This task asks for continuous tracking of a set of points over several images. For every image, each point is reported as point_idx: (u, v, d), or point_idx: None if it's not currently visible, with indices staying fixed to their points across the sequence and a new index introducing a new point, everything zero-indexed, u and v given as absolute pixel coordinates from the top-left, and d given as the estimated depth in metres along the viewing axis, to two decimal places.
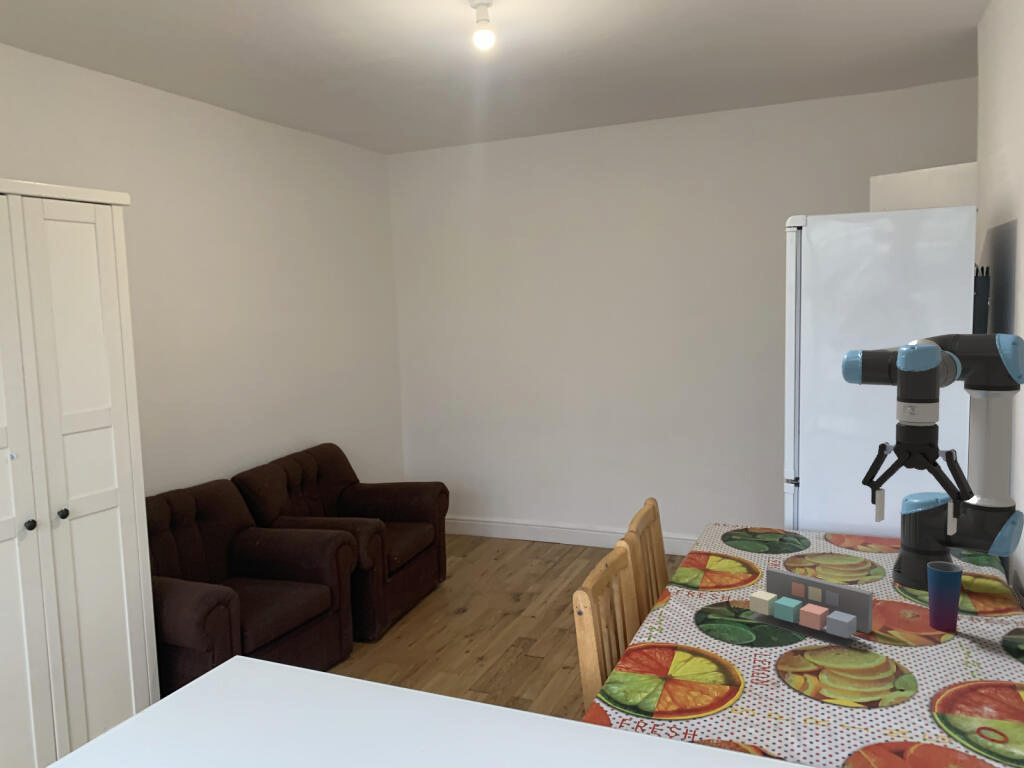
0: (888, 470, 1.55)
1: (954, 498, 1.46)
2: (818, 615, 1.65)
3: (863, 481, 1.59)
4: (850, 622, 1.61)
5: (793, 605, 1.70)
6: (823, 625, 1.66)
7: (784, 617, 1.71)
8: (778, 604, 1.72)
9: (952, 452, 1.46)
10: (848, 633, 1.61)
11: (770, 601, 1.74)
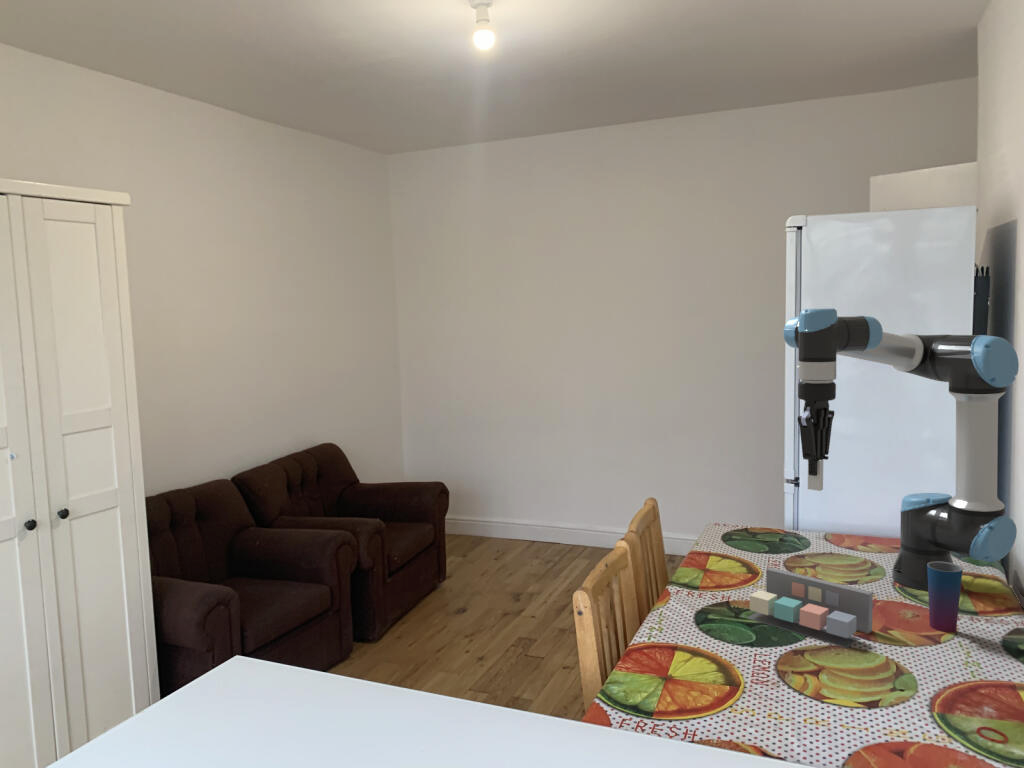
0: None
1: None
2: (818, 615, 1.65)
3: None
4: (850, 622, 1.61)
5: (793, 605, 1.70)
6: (823, 625, 1.66)
7: (784, 617, 1.71)
8: (778, 604, 1.72)
9: (800, 419, 1.60)
10: (848, 633, 1.61)
11: (770, 601, 1.74)
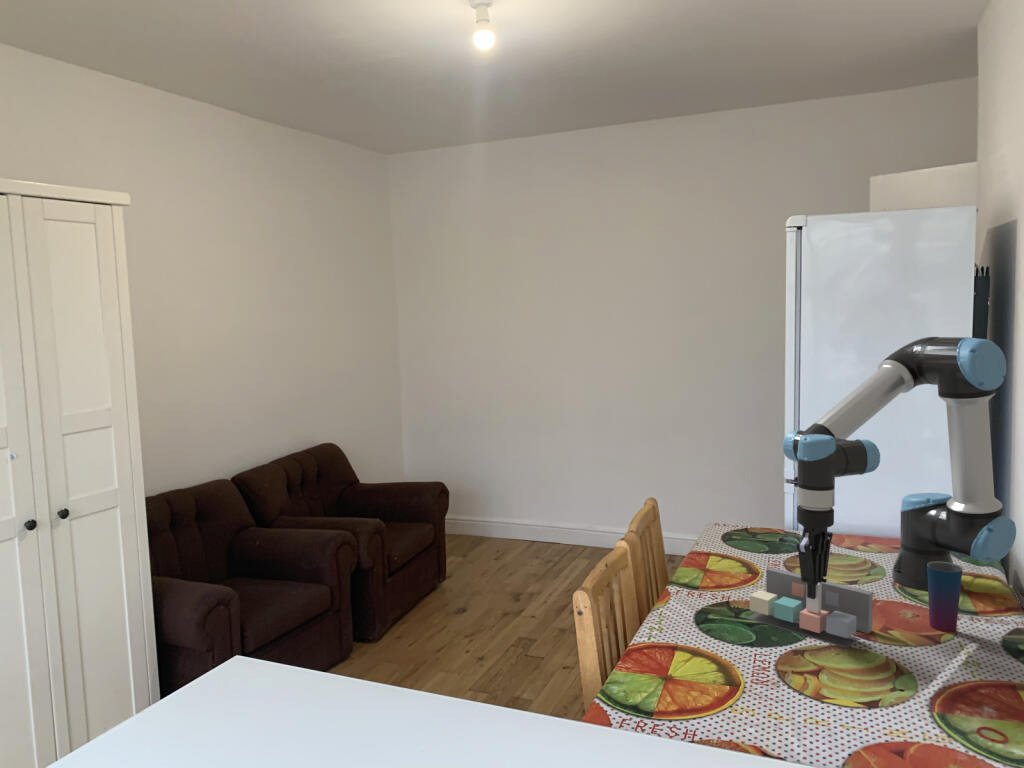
0: None
1: None
2: (818, 618, 1.65)
3: None
4: (850, 622, 1.61)
5: (793, 605, 1.70)
6: (823, 628, 1.66)
7: (784, 617, 1.71)
8: (778, 604, 1.72)
9: (798, 546, 1.62)
10: (848, 633, 1.61)
11: (770, 601, 1.74)
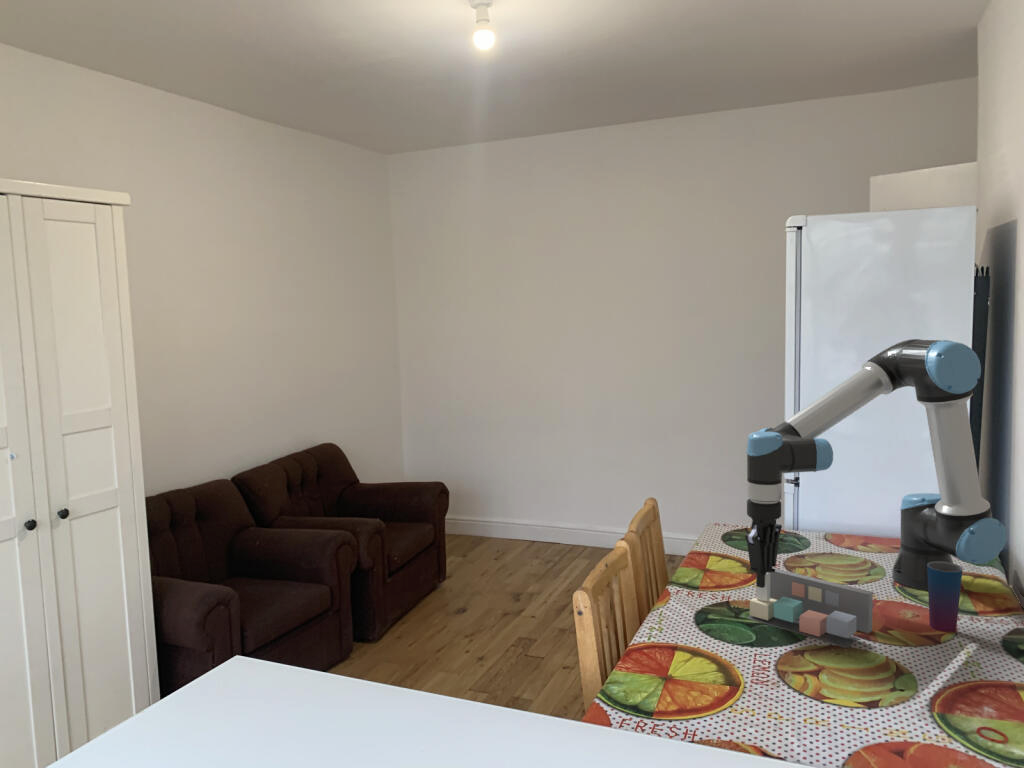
0: None
1: None
2: (818, 622, 1.65)
3: None
4: (850, 622, 1.61)
5: (793, 605, 1.70)
6: (823, 632, 1.66)
7: (784, 617, 1.71)
8: (778, 604, 1.72)
9: (747, 537, 1.71)
10: (848, 633, 1.61)
11: (769, 606, 1.74)
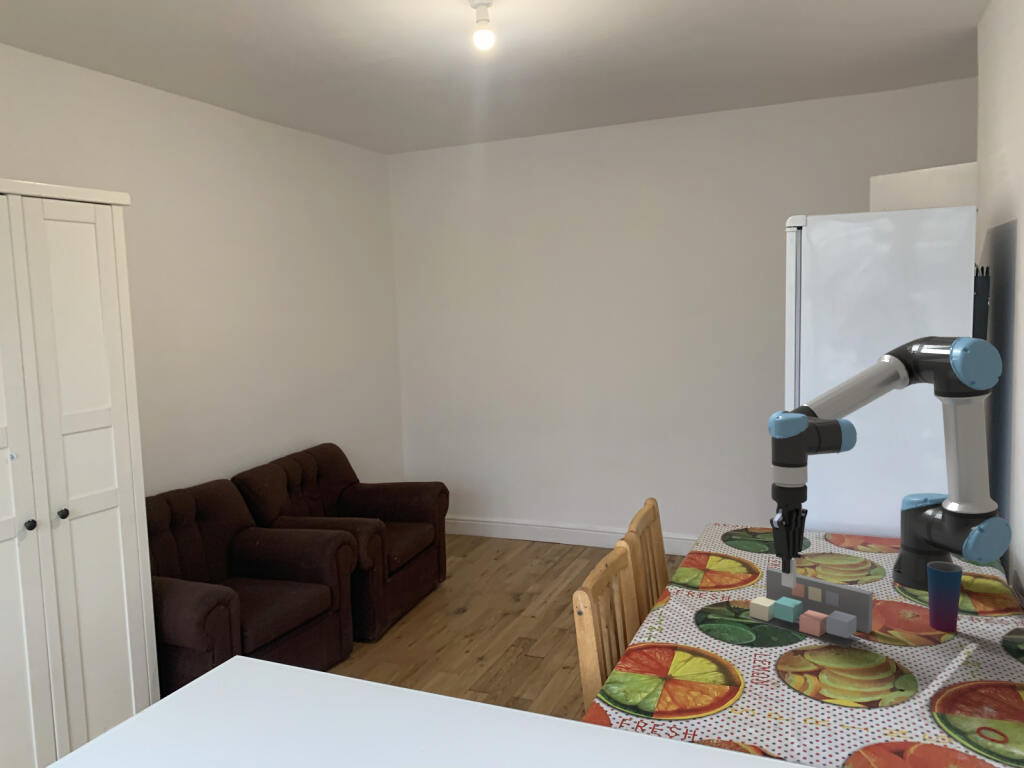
0: None
1: None
2: (818, 622, 1.65)
3: None
4: (850, 622, 1.61)
5: (793, 605, 1.70)
6: (823, 632, 1.66)
7: (784, 617, 1.71)
8: (778, 604, 1.72)
9: (772, 522, 1.67)
10: (848, 633, 1.61)
11: (769, 608, 1.74)
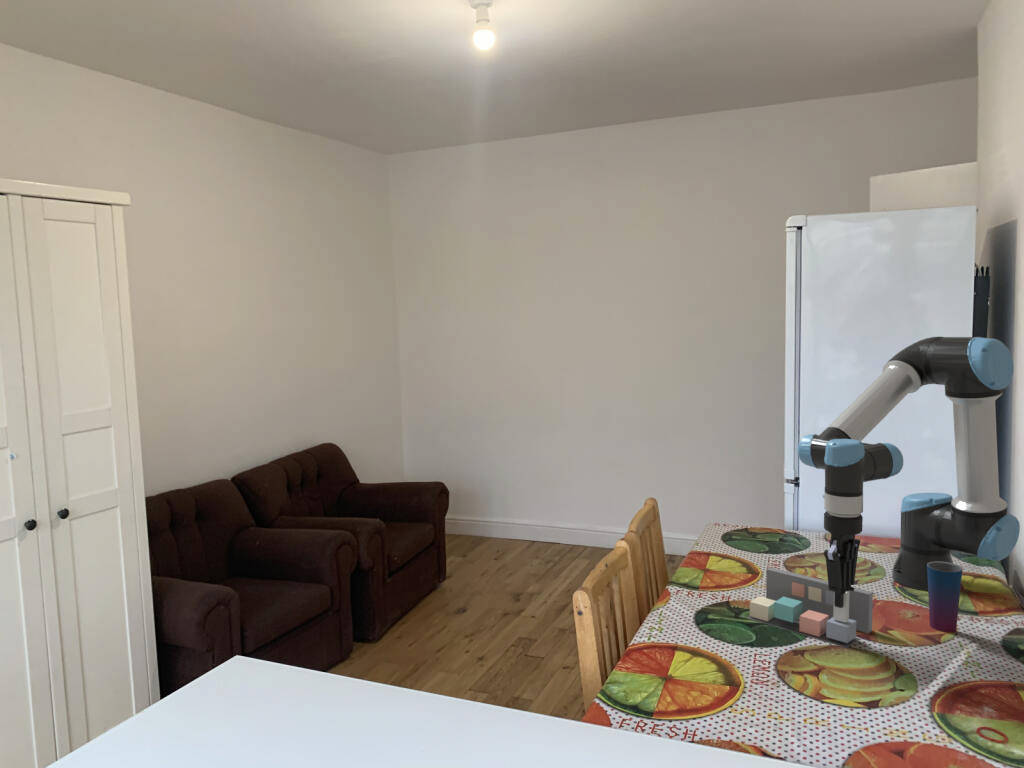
0: None
1: None
2: (818, 622, 1.65)
3: None
4: (850, 626, 1.62)
5: (793, 605, 1.70)
6: (823, 632, 1.66)
7: (784, 617, 1.71)
8: (778, 604, 1.72)
9: (826, 554, 1.58)
10: (848, 638, 1.61)
11: (769, 608, 1.74)
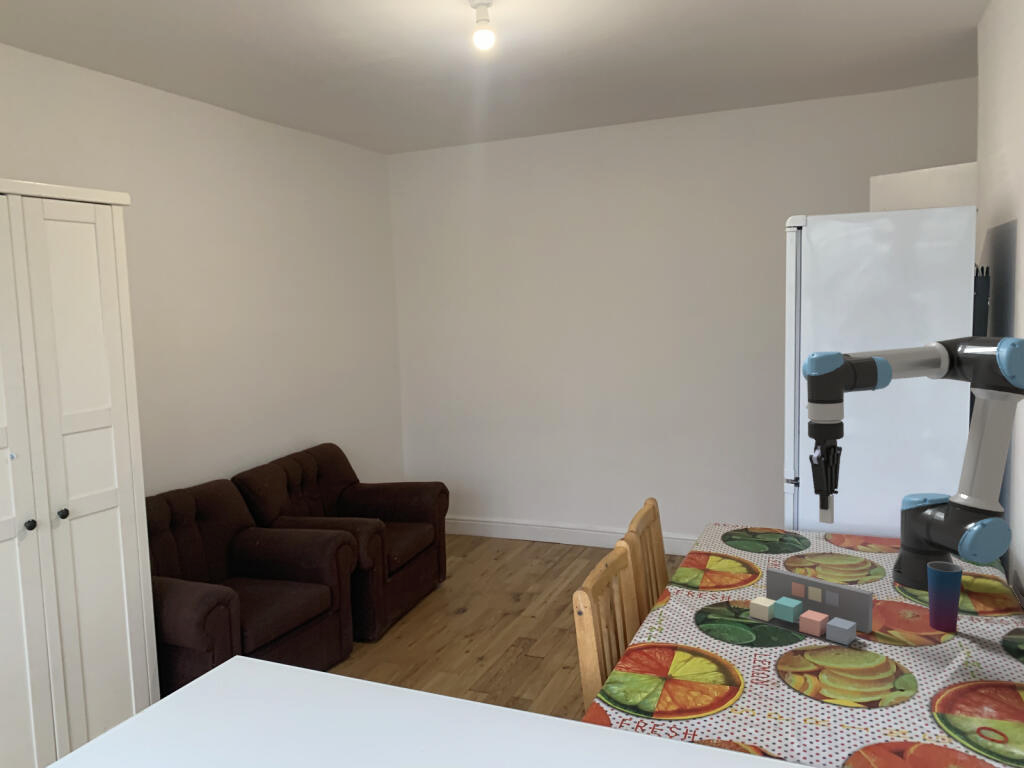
0: None
1: None
2: (818, 622, 1.65)
3: None
4: (850, 628, 1.62)
5: (793, 605, 1.70)
6: (823, 632, 1.66)
7: (784, 617, 1.71)
8: (778, 604, 1.72)
9: (811, 458, 1.69)
10: (848, 640, 1.61)
11: (769, 608, 1.74)
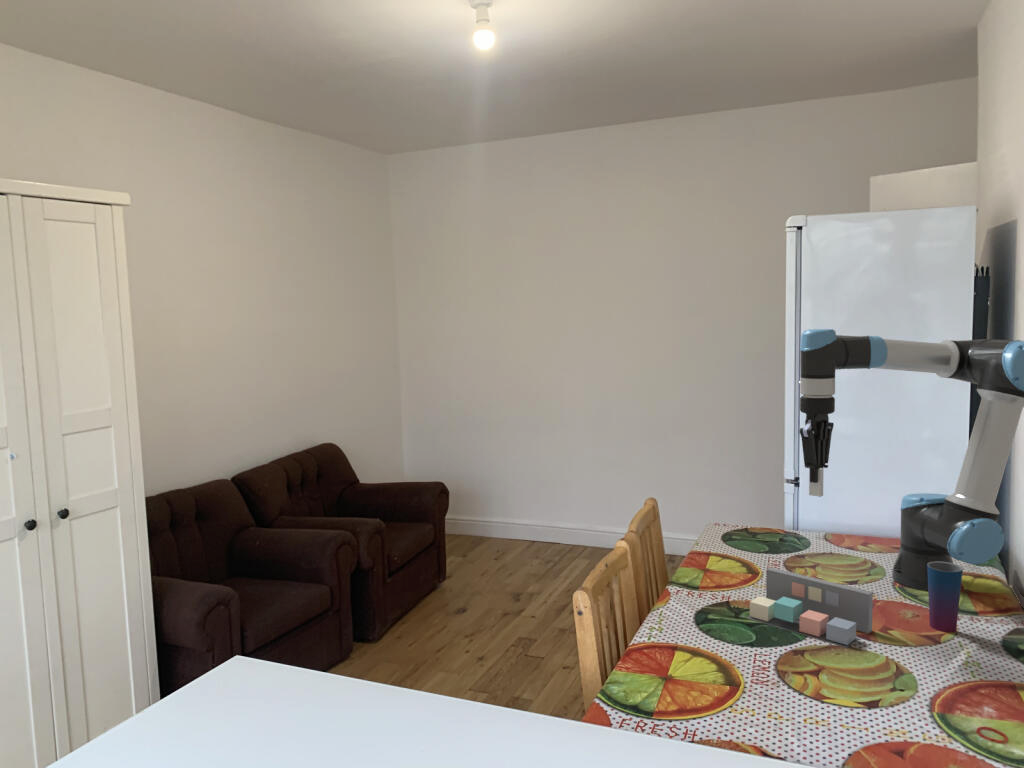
0: None
1: None
2: (818, 622, 1.65)
3: None
4: (850, 628, 1.62)
5: (793, 605, 1.70)
6: (823, 632, 1.66)
7: (784, 617, 1.71)
8: (778, 604, 1.72)
9: (801, 431, 1.74)
10: (848, 640, 1.61)
11: (769, 608, 1.74)
